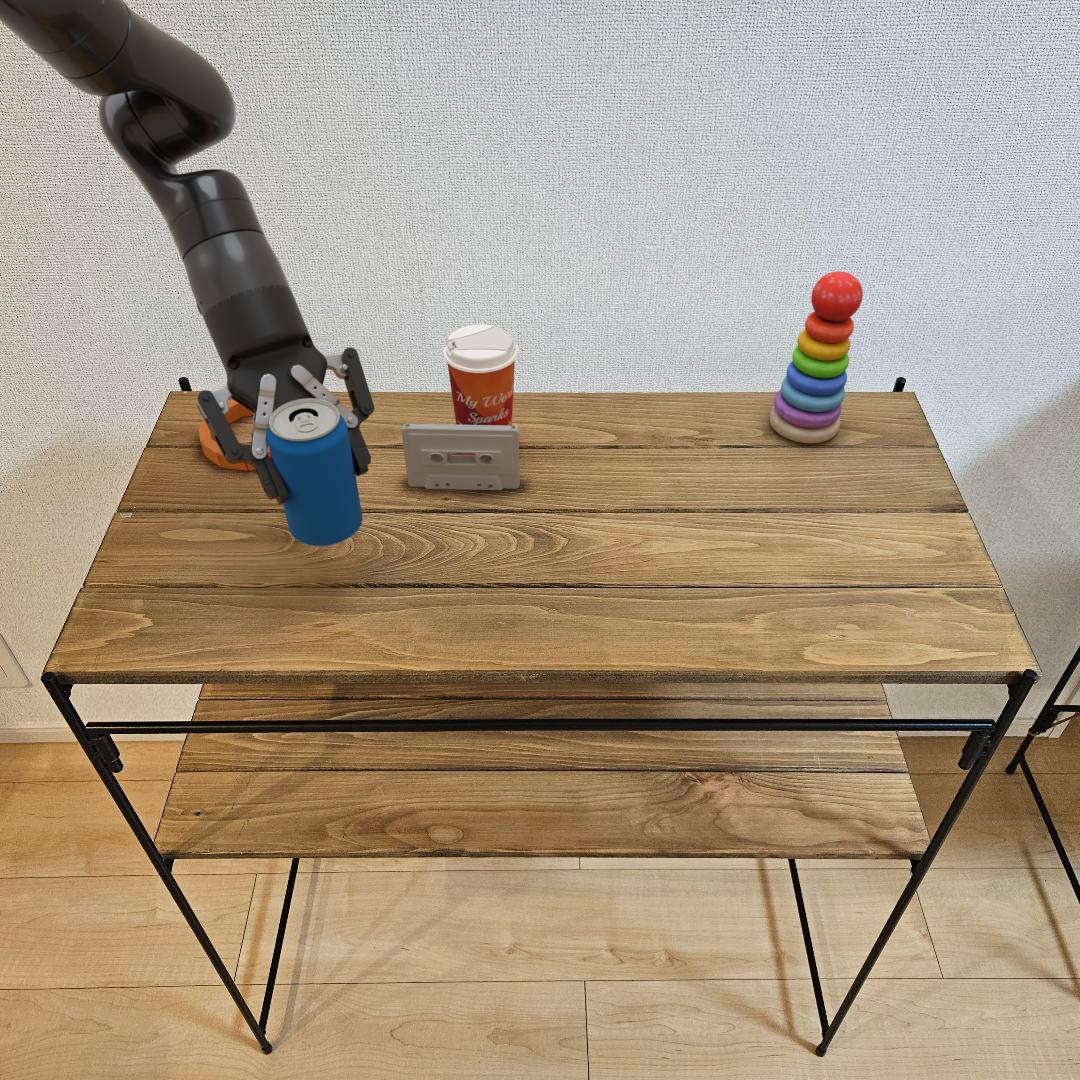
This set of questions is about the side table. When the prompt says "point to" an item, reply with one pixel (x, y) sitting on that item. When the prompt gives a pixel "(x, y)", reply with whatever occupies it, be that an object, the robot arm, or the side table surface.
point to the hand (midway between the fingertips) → (324, 487)
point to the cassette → (462, 456)
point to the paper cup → (481, 374)
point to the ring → (212, 447)
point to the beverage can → (315, 471)
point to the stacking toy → (819, 364)
